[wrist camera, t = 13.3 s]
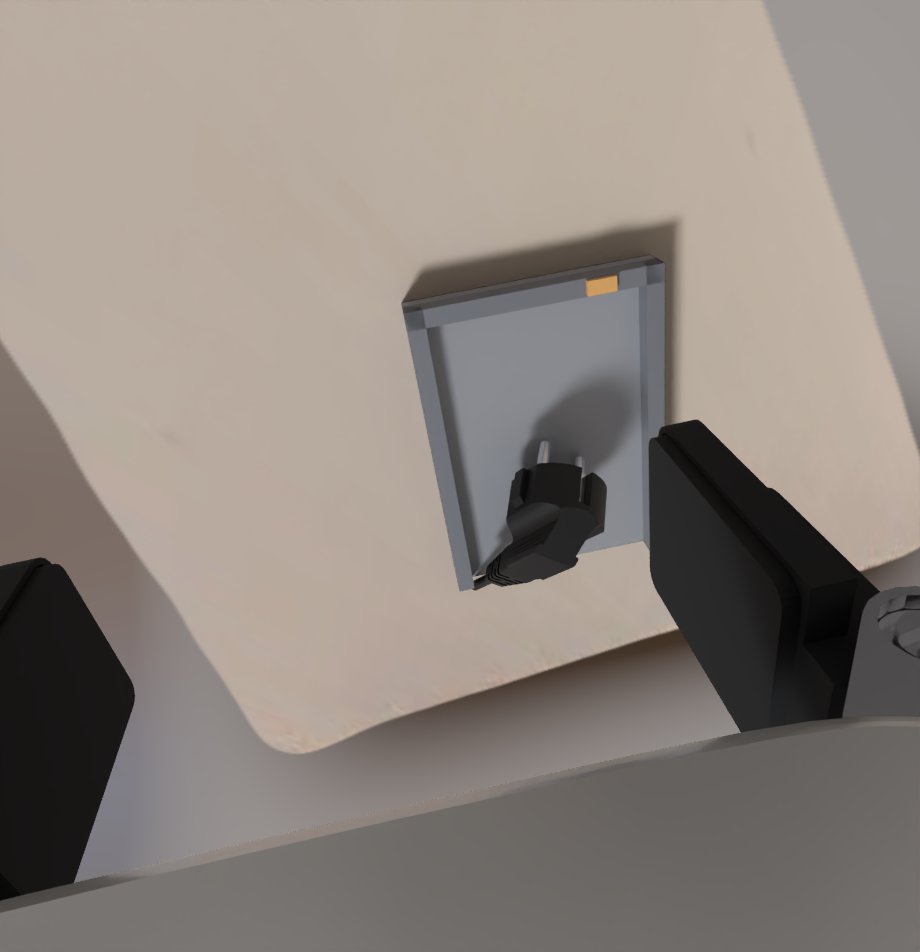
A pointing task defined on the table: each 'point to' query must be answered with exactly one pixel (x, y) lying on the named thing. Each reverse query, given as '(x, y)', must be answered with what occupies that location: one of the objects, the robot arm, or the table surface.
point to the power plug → (548, 520)
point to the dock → (541, 395)
